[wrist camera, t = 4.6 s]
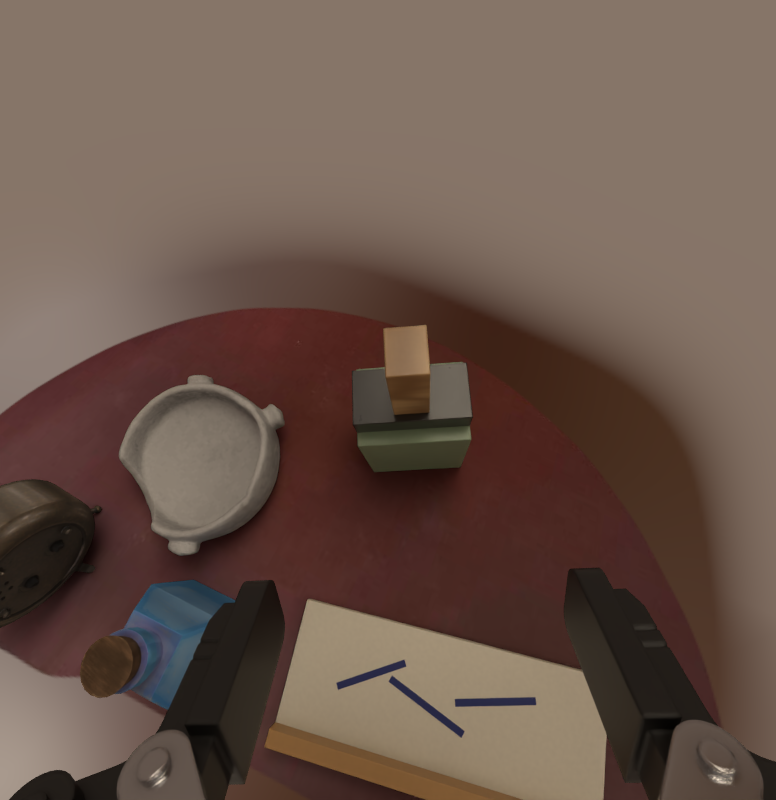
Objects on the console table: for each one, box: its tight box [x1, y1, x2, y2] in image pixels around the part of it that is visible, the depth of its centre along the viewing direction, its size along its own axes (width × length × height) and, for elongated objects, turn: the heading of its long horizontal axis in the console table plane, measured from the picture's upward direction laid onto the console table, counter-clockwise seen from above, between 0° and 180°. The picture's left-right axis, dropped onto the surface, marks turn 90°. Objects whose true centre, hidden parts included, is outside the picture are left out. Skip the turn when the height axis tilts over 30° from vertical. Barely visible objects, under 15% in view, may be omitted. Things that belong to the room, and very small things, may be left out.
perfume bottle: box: [80, 580, 235, 710], centre depth 31 cm, size 6×6×12 cm
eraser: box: [352, 325, 473, 433], centre depth 27 cm, size 8×4×8 cm, turn 92°
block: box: [356, 362, 471, 472], centre depth 36 cm, size 8×6×10 cm
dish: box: [119, 375, 284, 556], centre depth 39 cm, size 14×14×5 cm
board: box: [265, 599, 606, 800], centre depth 32 cm, size 24×10×2 cm, turn 77°
